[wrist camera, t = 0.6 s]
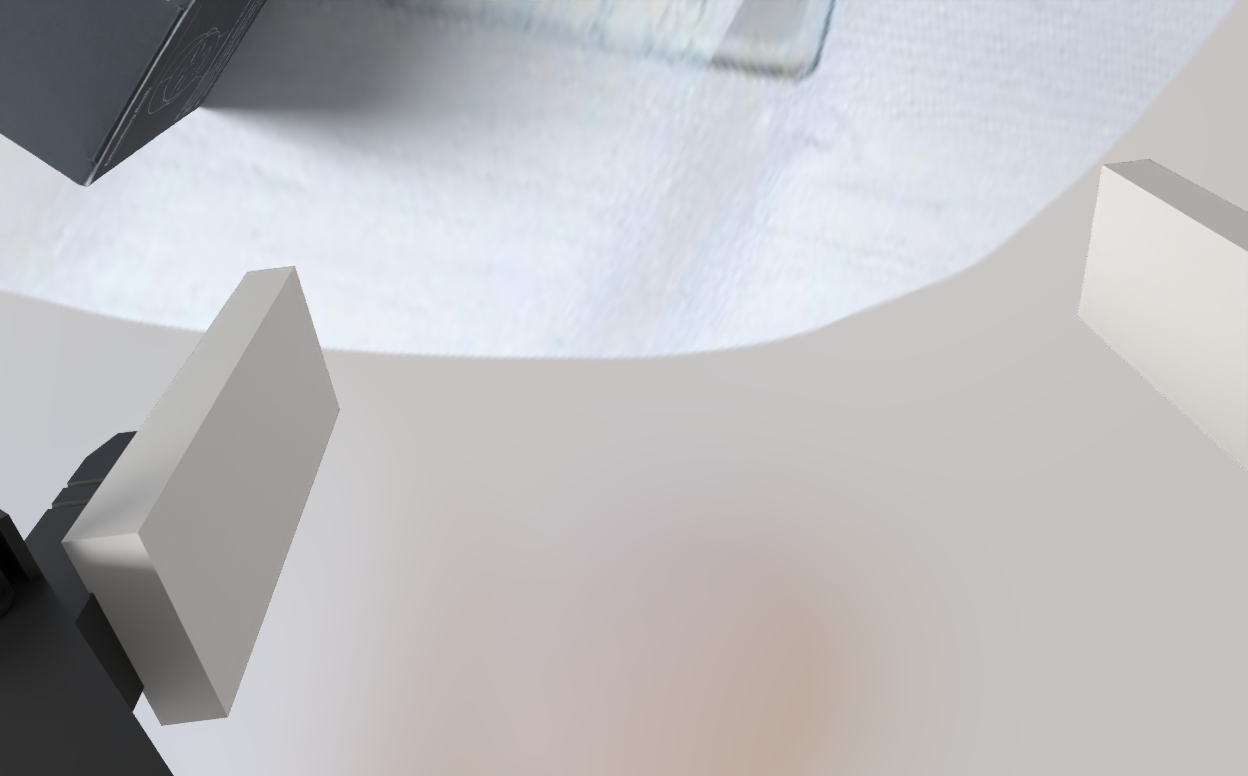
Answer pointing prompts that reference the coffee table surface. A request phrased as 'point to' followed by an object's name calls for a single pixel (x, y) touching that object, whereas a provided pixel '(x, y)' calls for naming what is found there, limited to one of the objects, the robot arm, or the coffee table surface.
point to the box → (108, 73)
